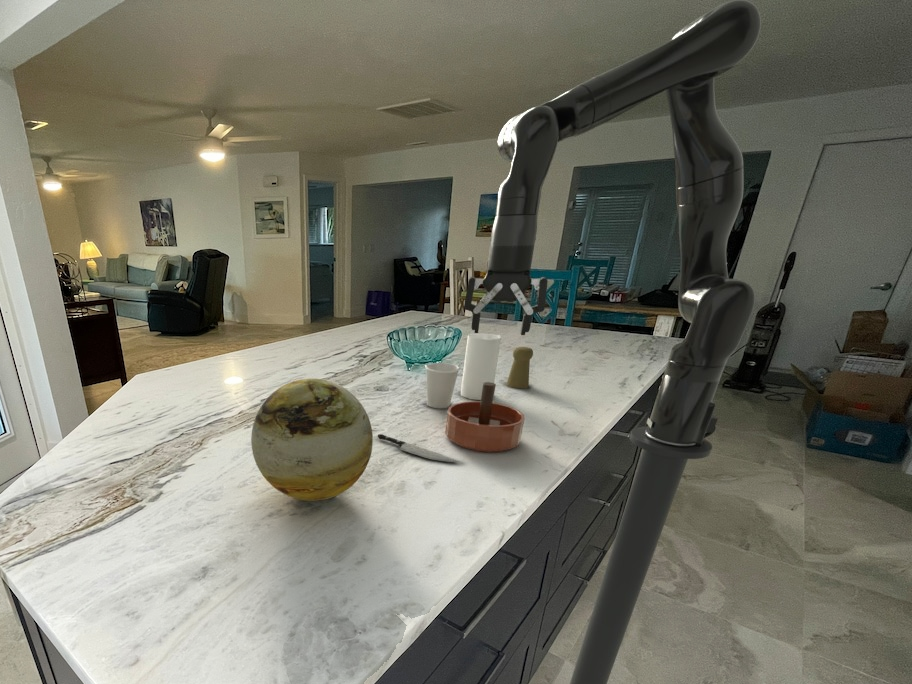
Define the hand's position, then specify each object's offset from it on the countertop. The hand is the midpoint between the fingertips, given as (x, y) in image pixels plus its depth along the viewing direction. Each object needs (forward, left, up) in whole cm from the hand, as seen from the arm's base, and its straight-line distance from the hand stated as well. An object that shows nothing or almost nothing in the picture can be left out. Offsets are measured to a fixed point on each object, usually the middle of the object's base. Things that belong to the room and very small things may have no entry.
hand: (499, 333), depth 92 cm
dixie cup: (+11, -19, -23) cm, 32 cm away
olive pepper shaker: (-9, -43, -23) cm, 50 cm away
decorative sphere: (+27, +34, -23) cm, 49 cm away
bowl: (0, +1, -22) cm, 22 cm away
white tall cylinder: (+2, -30, -23) cm, 38 cm away
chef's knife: (+13, +12, -23) cm, 29 cm away
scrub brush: (0, +1, -22) cm, 22 cm away
